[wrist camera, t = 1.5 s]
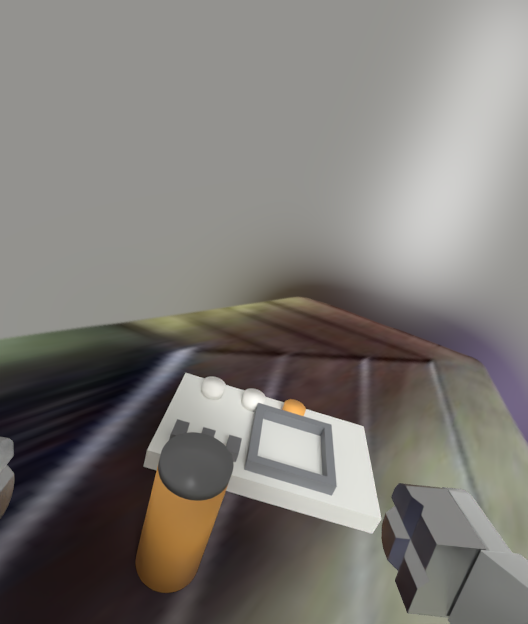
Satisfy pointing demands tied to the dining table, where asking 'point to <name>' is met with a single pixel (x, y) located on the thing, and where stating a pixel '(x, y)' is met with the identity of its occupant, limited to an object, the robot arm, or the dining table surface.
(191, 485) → the orange capped cylinder
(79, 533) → the dining table surface
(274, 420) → the board
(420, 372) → the dining table surface
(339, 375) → the dining table surface
